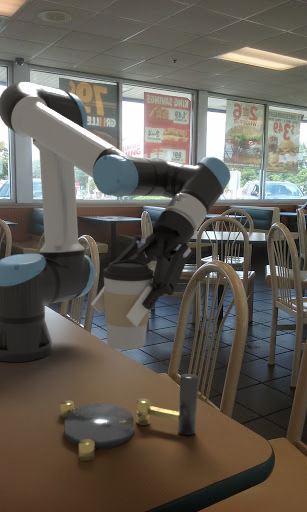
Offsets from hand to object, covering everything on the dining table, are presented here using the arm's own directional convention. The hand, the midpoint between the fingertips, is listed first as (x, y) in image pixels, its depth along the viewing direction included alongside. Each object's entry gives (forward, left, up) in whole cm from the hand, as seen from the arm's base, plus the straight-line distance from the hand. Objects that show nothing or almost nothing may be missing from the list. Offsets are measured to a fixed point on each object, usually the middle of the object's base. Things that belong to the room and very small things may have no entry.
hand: (113, 315), depth 83 cm
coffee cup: (-1, +3, -6) cm, 7 cm away
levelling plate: (+4, -3, -19) cm, 20 cm away
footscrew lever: (+7, +8, -19) cm, 21 cm away
